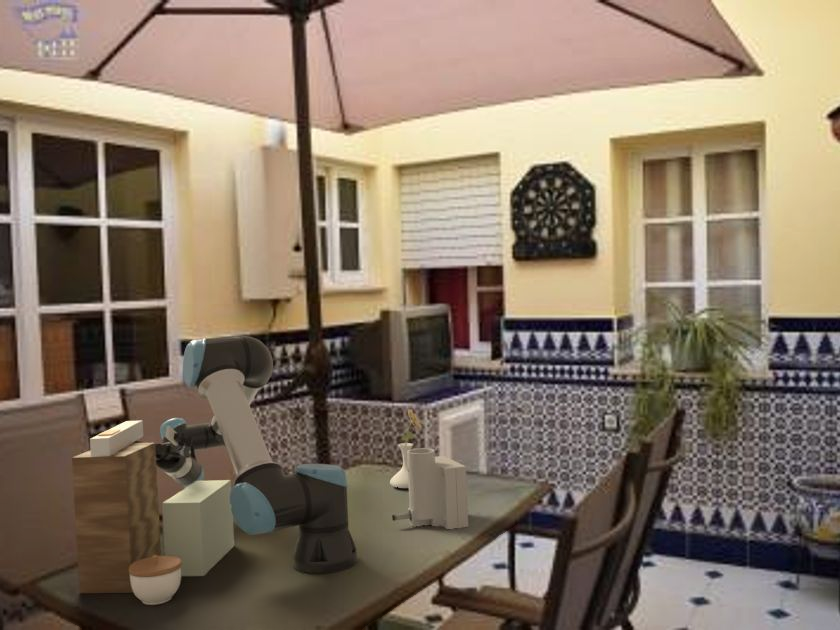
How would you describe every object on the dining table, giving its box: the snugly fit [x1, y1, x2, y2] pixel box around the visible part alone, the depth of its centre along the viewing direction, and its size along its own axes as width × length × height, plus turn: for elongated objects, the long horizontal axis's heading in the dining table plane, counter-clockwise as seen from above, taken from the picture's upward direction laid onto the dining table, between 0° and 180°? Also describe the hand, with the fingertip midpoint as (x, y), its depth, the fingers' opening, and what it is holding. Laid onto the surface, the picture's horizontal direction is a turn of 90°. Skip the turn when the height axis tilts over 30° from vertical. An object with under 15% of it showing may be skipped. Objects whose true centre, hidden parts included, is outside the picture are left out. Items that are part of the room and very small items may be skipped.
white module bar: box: [89, 419, 144, 457], centre depth 190 cm, size 25×4×4 cm, turn 3°
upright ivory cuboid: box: [161, 479, 235, 577], centre depth 198 cm, size 22×9×17 cm, turn 175°
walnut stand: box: [71, 442, 162, 594], centre depth 186 cm, size 16×13×30 cm
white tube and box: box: [391, 447, 469, 530], centre depth 221 cm, size 16×19×20 cm
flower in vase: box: [389, 408, 423, 489], centre depth 265 cm, size 13×11×25 cm
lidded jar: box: [129, 555, 182, 606], centre depth 173 cm, size 11×11×9 cm
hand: (140, 431), depth 200 cm, fingers open, 13 cm apart
